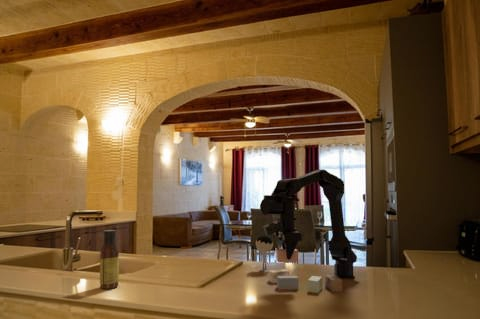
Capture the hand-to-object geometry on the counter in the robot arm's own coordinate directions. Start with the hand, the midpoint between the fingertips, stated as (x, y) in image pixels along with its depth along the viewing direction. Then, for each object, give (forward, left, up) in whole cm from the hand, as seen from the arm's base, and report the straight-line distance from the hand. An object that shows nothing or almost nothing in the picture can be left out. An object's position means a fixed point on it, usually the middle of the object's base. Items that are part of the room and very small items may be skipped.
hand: (287, 258), depth 124 cm
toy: (+3, -31, -10) cm, 33 cm away
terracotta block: (0, 0, -1) cm, 1 cm away
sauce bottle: (+63, -6, -10) cm, 64 cm away
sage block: (-9, +3, -10) cm, 14 cm away
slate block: (0, 0, -10) cm, 10 cm away
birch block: (+1, -10, -10) cm, 14 cm away
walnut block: (-16, +2, -10) cm, 19 cm away
